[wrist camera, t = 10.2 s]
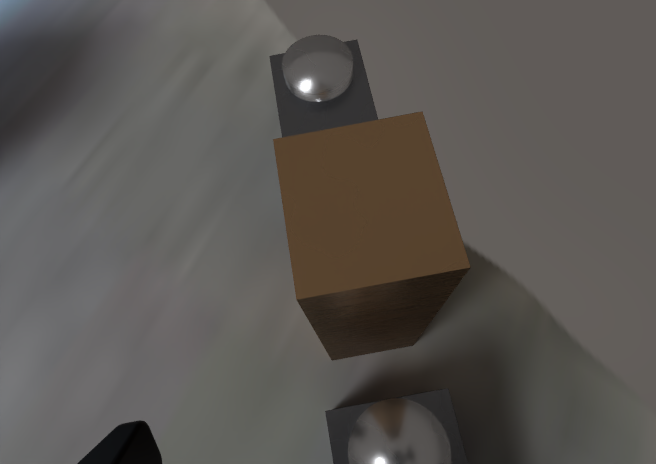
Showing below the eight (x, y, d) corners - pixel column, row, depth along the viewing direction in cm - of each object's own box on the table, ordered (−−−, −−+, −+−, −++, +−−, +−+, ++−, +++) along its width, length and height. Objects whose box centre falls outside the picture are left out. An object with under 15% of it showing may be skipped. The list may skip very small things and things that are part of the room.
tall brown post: (413, 345, 17) (470, 267, 8) (331, 360, 17) (296, 299, 8) (392, 261, 19) (422, 111, 9) (317, 275, 19) (273, 139, 9)
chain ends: (505, 667, 14) (545, 738, 11) (375, 691, 14) (379, 769, 11) (357, 78, 22) (357, 27, 19) (279, 93, 22) (266, 44, 19)
